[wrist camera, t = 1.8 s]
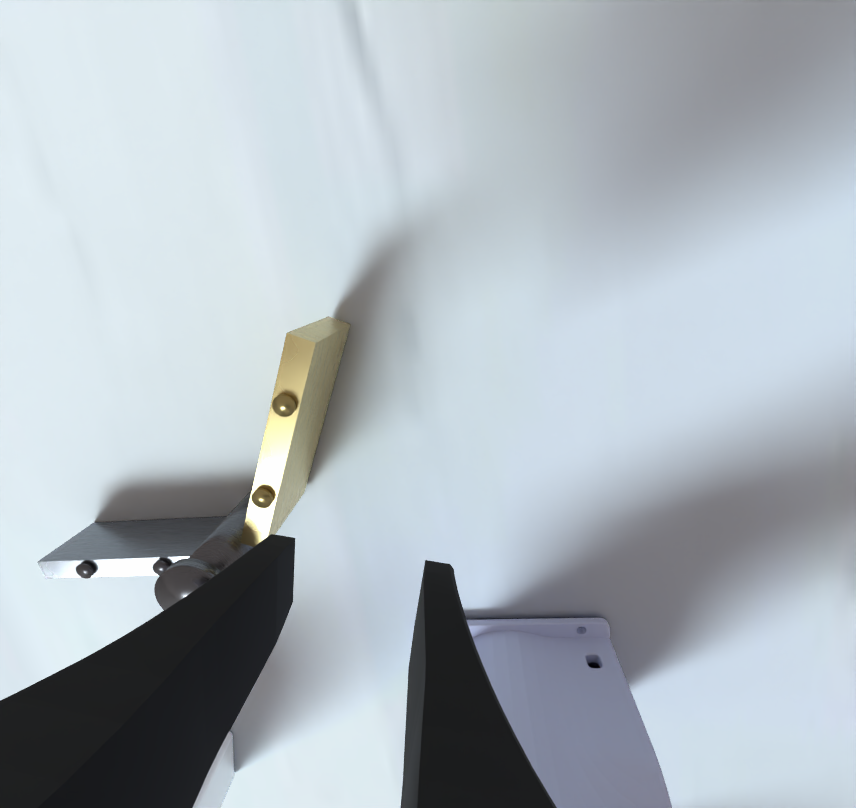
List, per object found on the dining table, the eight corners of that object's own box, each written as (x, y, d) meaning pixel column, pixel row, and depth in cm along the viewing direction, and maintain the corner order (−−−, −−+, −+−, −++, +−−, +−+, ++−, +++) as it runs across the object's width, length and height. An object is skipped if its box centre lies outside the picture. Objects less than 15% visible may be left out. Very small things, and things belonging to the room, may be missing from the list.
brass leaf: (304, 492, 21) (261, 553, 16) (285, 485, 21) (237, 545, 16) (350, 324, 18) (313, 343, 13) (328, 316, 18) (284, 333, 13)
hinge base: (285, 478, 21) (211, 568, 15) (298, 529, 22) (232, 634, 16) (79, 489, 22) (-70, 577, 16) (99, 537, 23) (-34, 637, 17)
